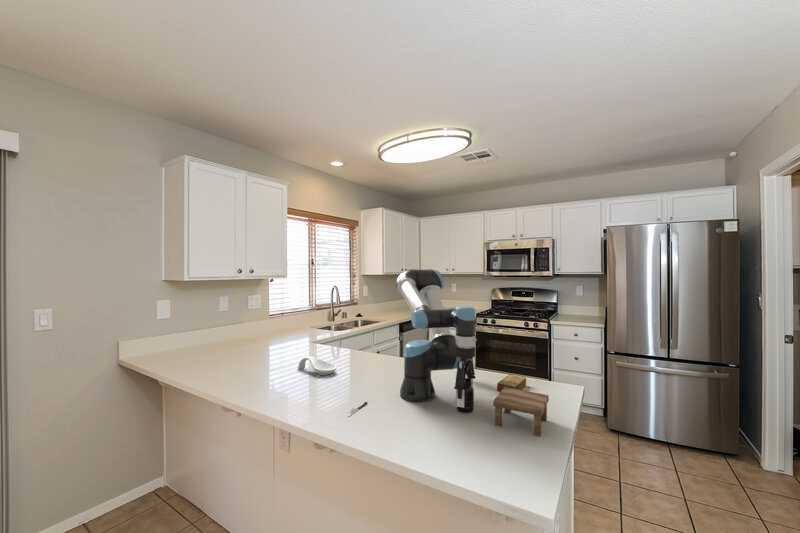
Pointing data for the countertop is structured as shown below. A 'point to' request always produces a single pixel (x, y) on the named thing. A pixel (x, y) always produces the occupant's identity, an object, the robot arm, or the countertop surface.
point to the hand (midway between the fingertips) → (465, 400)
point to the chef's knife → (357, 408)
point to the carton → (511, 383)
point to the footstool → (521, 405)
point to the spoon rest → (319, 366)
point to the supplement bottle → (467, 398)
